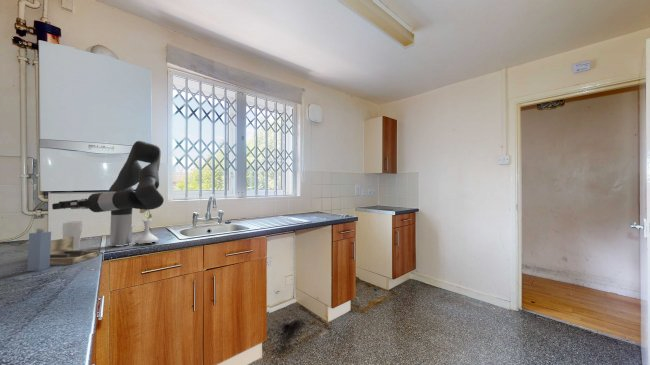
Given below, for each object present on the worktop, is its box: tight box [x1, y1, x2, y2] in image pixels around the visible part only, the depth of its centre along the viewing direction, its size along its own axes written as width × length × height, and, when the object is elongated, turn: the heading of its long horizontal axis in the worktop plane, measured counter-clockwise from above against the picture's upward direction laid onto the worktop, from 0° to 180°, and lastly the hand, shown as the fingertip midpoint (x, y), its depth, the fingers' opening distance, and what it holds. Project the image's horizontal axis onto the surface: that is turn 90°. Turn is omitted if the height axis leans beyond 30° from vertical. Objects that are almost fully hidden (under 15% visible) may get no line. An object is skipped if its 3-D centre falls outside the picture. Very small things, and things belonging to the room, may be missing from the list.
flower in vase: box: [134, 209, 159, 245], centre depth 146 cm, size 13×11×25 cm
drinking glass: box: [62, 220, 83, 250], centre depth 124 cm, size 7×7×15 cm
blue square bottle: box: [26, 227, 52, 272], centre depth 97 cm, size 4×4×16 cm
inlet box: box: [50, 237, 100, 266], centre depth 110 cm, size 14×12×9 cm
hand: (64, 206), depth 99 cm, fingers open, 8 cm apart
